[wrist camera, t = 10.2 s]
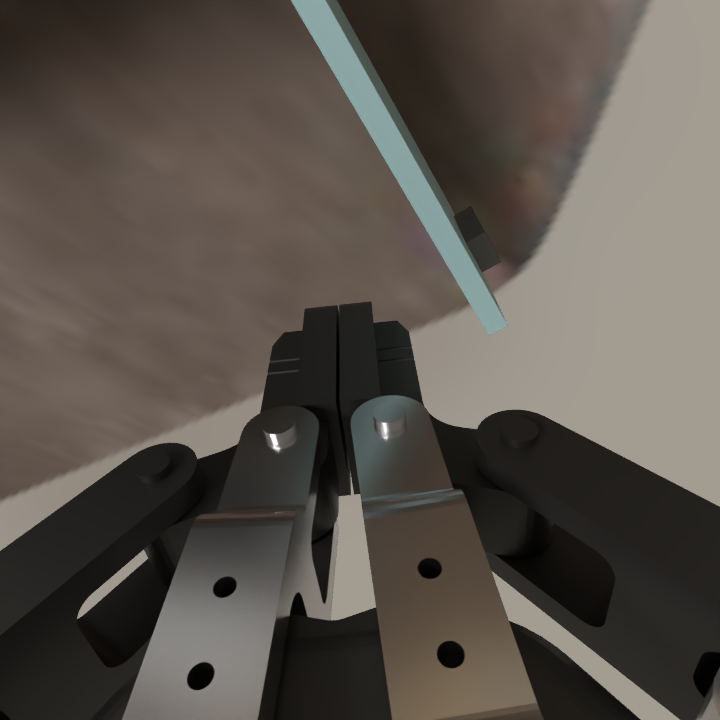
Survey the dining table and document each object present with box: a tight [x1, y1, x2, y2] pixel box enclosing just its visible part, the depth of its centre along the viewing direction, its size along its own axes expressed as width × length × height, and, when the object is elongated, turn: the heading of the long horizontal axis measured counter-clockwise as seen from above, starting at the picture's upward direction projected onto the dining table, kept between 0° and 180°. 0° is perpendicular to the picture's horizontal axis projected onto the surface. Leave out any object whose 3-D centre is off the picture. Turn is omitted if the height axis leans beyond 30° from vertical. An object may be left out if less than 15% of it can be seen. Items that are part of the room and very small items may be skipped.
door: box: [291, 0, 507, 335], centre depth 12 cm, size 15×1×7 cm, turn 32°
